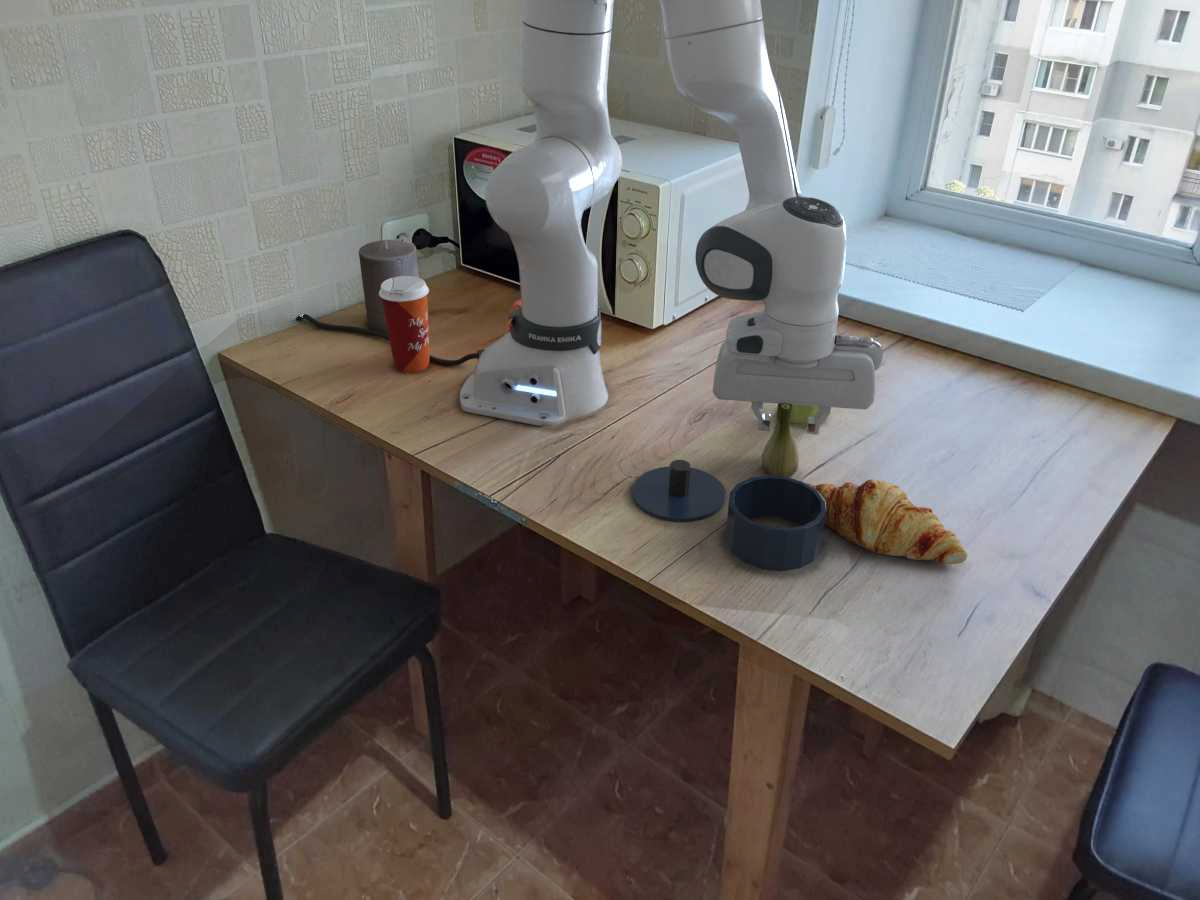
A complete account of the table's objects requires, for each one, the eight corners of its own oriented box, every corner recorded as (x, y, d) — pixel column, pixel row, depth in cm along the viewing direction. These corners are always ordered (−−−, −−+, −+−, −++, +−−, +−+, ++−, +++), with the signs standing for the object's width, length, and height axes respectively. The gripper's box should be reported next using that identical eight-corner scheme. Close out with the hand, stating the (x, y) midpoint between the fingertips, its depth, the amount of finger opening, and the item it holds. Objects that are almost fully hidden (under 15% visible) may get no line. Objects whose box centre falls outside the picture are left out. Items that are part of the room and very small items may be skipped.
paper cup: (427, 377, 152) (419, 294, 145) (381, 373, 153) (370, 291, 146) (442, 355, 159) (434, 275, 152) (397, 352, 160) (388, 272, 153)
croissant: (965, 579, 116) (989, 517, 114) (948, 587, 107) (974, 520, 106) (805, 514, 126) (826, 457, 125) (778, 517, 118) (799, 455, 116)
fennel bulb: (787, 488, 126) (792, 408, 120) (752, 478, 128) (756, 399, 122) (804, 467, 130) (810, 388, 124) (771, 457, 132) (775, 380, 126)
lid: (626, 520, 120) (626, 486, 117) (637, 469, 130) (638, 436, 127) (722, 530, 118) (725, 496, 116) (727, 477, 128) (729, 444, 126)
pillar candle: (356, 324, 169) (344, 242, 161) (399, 307, 176) (390, 228, 168) (392, 340, 164) (382, 256, 156) (435, 322, 170) (427, 240, 162)
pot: (723, 569, 112) (726, 525, 109) (727, 513, 121) (731, 471, 118) (820, 578, 110) (827, 534, 107) (817, 522, 120) (824, 479, 116)
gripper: (883, 327, 119) (867, 424, 127) (717, 318, 122) (711, 413, 129) (888, 349, 114) (871, 449, 121) (715, 339, 117) (709, 436, 124)
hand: (787, 430), depth 125 cm, fingers open, 5 cm apart
